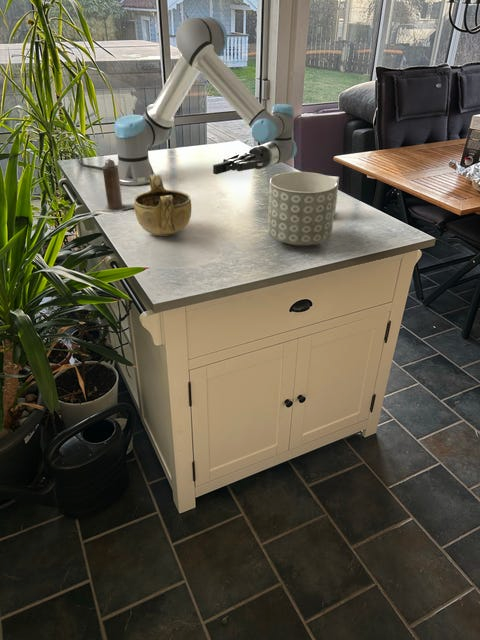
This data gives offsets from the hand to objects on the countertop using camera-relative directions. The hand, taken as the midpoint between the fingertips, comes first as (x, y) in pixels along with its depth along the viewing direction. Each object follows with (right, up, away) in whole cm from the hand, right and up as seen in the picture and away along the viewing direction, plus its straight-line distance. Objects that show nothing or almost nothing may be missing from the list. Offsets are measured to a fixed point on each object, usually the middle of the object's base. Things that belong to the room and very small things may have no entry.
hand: (214, 169), depth 161 cm
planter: (+26, -25, -9) cm, 37 cm away
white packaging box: (+36, -13, +9) cm, 39 cm away
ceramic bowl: (-15, -21, -5) cm, 26 cm away
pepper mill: (-35, -9, +13) cm, 39 cm away
